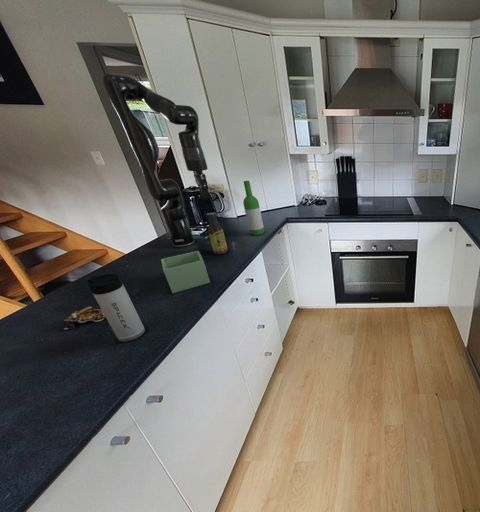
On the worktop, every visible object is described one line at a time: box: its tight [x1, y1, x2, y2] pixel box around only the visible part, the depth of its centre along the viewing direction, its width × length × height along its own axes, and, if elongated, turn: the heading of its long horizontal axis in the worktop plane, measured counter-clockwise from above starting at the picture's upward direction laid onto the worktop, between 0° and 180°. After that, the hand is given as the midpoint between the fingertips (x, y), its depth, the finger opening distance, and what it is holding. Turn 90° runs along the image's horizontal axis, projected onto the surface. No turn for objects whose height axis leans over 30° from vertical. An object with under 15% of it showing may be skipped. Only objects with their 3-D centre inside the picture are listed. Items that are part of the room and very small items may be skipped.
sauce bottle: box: [205, 212, 228, 255], centre depth 131 cm, size 7×6×20 cm
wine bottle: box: [242, 180, 265, 236], centre depth 151 cm, size 8×8×30 cm
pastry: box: [63, 306, 106, 331], centre depth 88 cm, size 7×12×4 cm, turn 125°
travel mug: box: [86, 273, 146, 343], centre depth 78 cm, size 6×7×20 cm
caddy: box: [160, 250, 211, 294], centre depth 108 cm, size 12×13×10 cm
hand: (205, 196), depth 123 cm, fingers open, 8 cm apart
